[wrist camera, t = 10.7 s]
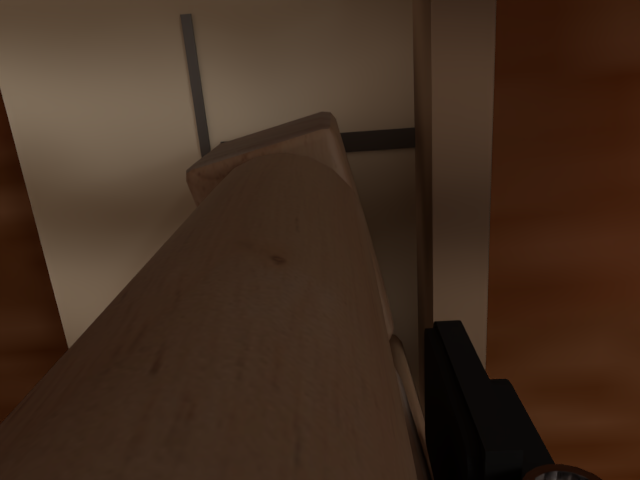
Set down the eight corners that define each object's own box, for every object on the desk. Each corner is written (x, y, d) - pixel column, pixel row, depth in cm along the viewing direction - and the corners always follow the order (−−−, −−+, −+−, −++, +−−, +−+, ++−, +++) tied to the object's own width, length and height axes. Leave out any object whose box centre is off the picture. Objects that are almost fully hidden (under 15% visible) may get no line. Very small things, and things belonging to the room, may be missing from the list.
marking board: (6, -33, 17) (-122, -70, 12) (451, -73, 16) (500, -129, 11) (160, 602, 26) (121, 724, 21) (448, 592, 25) (475, 717, 20)
